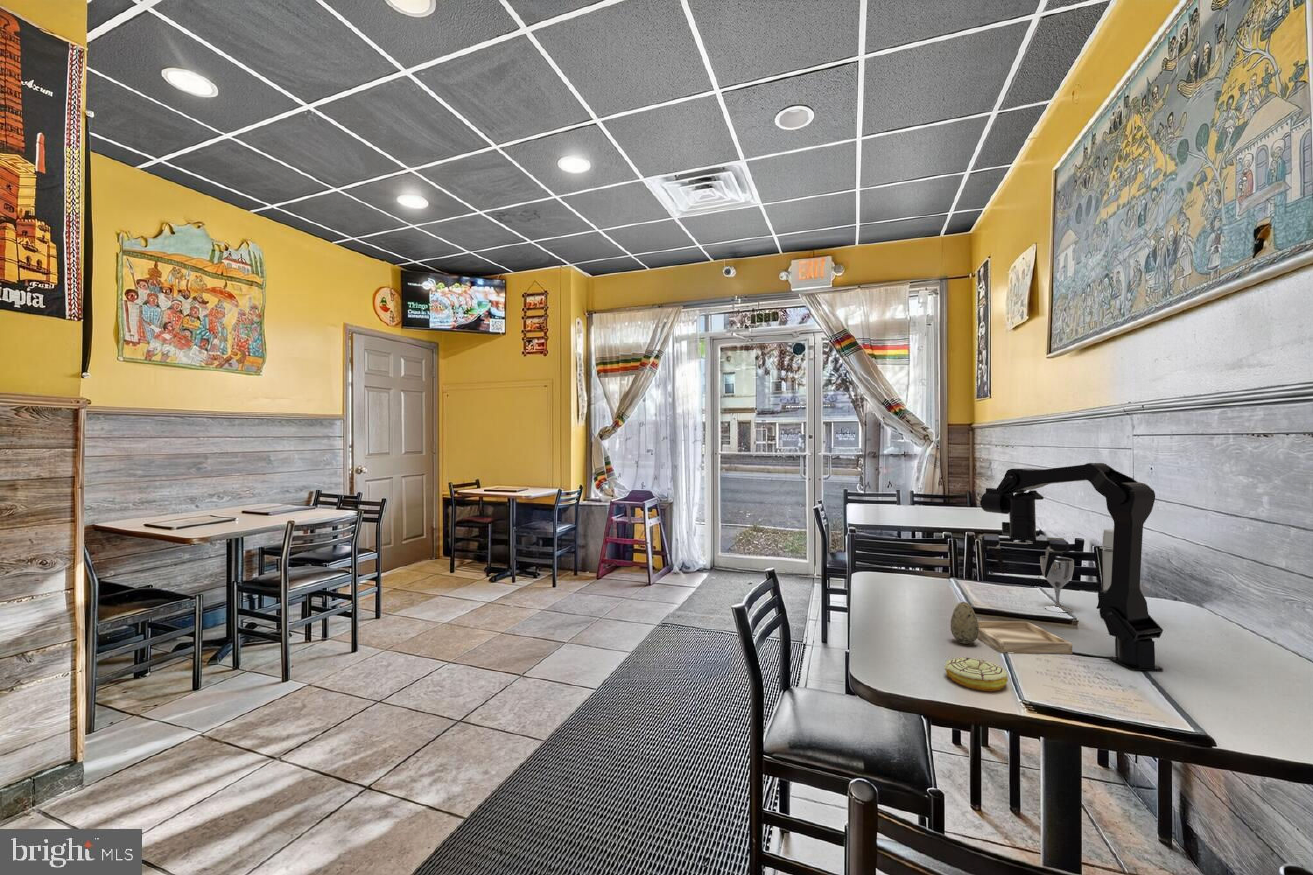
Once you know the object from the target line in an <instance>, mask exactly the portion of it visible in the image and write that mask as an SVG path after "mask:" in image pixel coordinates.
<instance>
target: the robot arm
mask: <svg viewBox="0 0 1313 875" xmlns="http://www.w3.org/2000/svg"><path fill="white" fill-rule="evenodd" d="M1083 481H1088V482H1089V483H1090V484H1091V485H1092V487H1093V488H1094V490H1095V491H1096V492H1097V493H1099V494H1100V495H1102V496H1103V497H1104V498H1105V503H1106V509H1107V511H1108V513H1109V514H1110V516H1111V519H1112V521H1113V529H1114V535H1113V554H1112V573H1111V585H1110V587H1109V588H1108V590H1098V593H1097V600H1098V603H1097V606H1096V607H1095V608H1096V610H1097V609H1098V610H1099V616H1100V618H1101V619H1102V620H1103V621H1104V624H1105V626H1106V630H1107V631H1108V634H1109V635H1110V636H1111V637H1115V638H1114V641H1115V643H1114V648H1115V650H1114V651H1115V654H1114V655H1115V656H1108V659H1109V660H1111V661H1112V662H1115V663H1116V664H1118V665H1120V666H1123V667H1125V668H1126V669H1129V668H1130V669H1129V670H1131V669H1133V670H1132V671H1146V672H1147V671H1151V672H1153V671H1155V672H1157V671H1158V672H1160V671H1161V672H1162V671H1164V668H1162V667H1160V666H1158V665H1157V664H1156V656H1155V655H1156V652H1155V651H1156V648H1155V645H1156V644H1155V640H1153V639H1160V638H1161V636H1162V634H1163V631H1164V629H1163V628H1162V627H1161V626H1160V625H1159V624H1158V623H1157V622H1156V621H1155V620H1154V618H1153V617H1152V616H1151V615H1150V614H1149V608H1148V604H1147V603H1148V601H1147V600H1146V598H1145V596H1144V594H1143V592H1142V590H1141V574H1142V573H1141V572H1142V570H1141V568H1142V553H1143V552H1142V551H1143V550H1142V549H1143V536H1144V535H1143V534H1144V524H1145V522H1146V521H1147V520H1148V518H1149V516H1150V514H1151V513H1152V511H1153V509H1154V504H1155V500H1156V493H1155V490H1154V489H1153V488H1151V487H1150V486H1149V485H1148V484H1146V483H1143V482H1138V481H1137V480H1135V479H1134V478H1132V477H1130V476H1128V475H1126V474H1124V473H1122V472H1120V471H1117V470H1115V469H1114V468H1113V467H1112V466H1110V465H1108V464H1107V463H1103V462H1088V463H1084V464H1079V465H1070V466H1063V467H1061V466H1060V467H1054V468H1046V469H1045V468H1044V469H1042V468H1032V467H1031V468H1009V469H1007V470H1006V472H1005V474H1004V476H1003V479H1001V481H1000V482H999V485H998V486H997V487H996V488H995V487H987V488H986V487H985V492H984V493H983V494H982V496H981V498H980V500H979V504H980V507H981V510H983V511H984V512H986V513H993V514H1002V515H1003V514H1004V515H1007V514H1009V516H1008V517H1009V522H1006V521H1002V522H1001V534H1002V535H1004V536H1005V535H1008V537H1000V536H999V534H998V533H997V534H996V533H983V534H982V535H981V536H980V537H981V539H980V540H981V546H982V547H987V548H986V549H987V550H989V551H992V553H993V554H994V556H995V558H996V560H997V563H998V565H999V568H1000V570H1001V573H1002V575H1004V574H1005V567H1004V561H1003V560H1004V559H1003V555H1002V549H1001V546H1000V545H1003V546H1004V545H1005V546H1019V547H1036V548H1037V547H1038V548H1045V556H1046V557H1045V566H1044V576H1043V577H1044V579H1046V578H1047V576H1048V573H1049V571H1050V568H1051V566H1052V564H1053V562H1054V561H1055V559H1056V558H1057V556H1063V553H1070V544H1069V542H1068V541H1067V540H1066V539H1065V538H1064V537H1049V536H1047V537H1046V540H1045V539H1037V522H1036V517H1037V516H1036V501H1038V500H1040V501H1041V500H1044V499H1045V497H1044V496H1042V494H1040V493H1039V492H1038V491H1037V489H1039V488H1043V487H1045V486H1048V485H1051V484H1060V483H1072V482H1083ZM1027 491H1028V492H1027Z"/></svg>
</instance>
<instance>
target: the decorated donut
mask: <svg viewBox="0 0 1313 875" xmlns="http://www.w3.org/2000/svg"><path fill="white" fill-rule="evenodd" d="M944 671H946V675H947V677H948V678H949V679H951V680H952V681H953V682H954V683H957V684H958V685H960V686H963V687H966V688H968V689H972V690H976V691H982V692H997V691H1000V690H1001V689H1003V688H1004V687H1006V685H1007V683H1008V681H1009V679H1008V672H1007V671H1006V669H1004V668H1003V667H1002V666H1000V665H998V664H996V663H993V662H990V661H987V660H984V659H979V658H973V657H955V658H952V659H948V660H947V661H946V662H945V666H944ZM1001 691H1002V690H1001Z"/></svg>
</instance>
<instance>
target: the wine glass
mask: <svg viewBox="0 0 1313 875" xmlns="http://www.w3.org/2000/svg"><path fill="white" fill-rule="evenodd" d="M1045 557H1046V555H1040V557H1039V560H1040V561H1039V562H1040V569H1041V573H1042V576H1043V577H1044V566H1045ZM1074 570H1075V560H1074V559H1073V558H1069V557H1065V556H1060V555H1058V556H1057V558H1056V559H1055V561H1054V562H1053V564H1052V566H1051V568H1050V571H1049V573H1048V576H1047V578H1045V580H1046V581H1047V582H1048V583H1049V584H1050V585H1051V586H1052V587H1053V588H1052V589H1053V590H1054V593H1055V594H1054V595H1055V604H1054V605H1053V606H1055V607H1059V608H1061V609H1062V610H1063V611H1067V612H1068V613H1067V614H1072V613H1073V612H1074V611H1073V610H1072V609H1071V608H1067V607H1064V606H1061V604H1060V594H1061V590H1062V588H1063V587H1064V586H1066V585H1067V584H1068V583H1069V582H1070V581H1071V580H1072V578H1073V574H1074Z"/></svg>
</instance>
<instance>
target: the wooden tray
mask: <svg viewBox="0 0 1313 875" xmlns="http://www.w3.org/2000/svg"><path fill="white" fill-rule="evenodd" d="M977 621H978V626H979V634H978V637H977V639H978V640H980V641H981V642H983V643H984V644H985V645H987V646H989V647H991V648H992V649H994V650H995V651H997V652H998V653H1000V654H1006V653H1005V652H1014V653H1013V654H1032V653H1061V654H1060V655H1073V643H1072V642H1069V641H1068V640H1065V639H1063V637H1062V638H1061V637H1059V636H1057V635H1055V634H1053V633H1051V632H1049V631H1047V630H1045V629H1043V628H1042V627H1039V626H1037V625H1036V624H1033V623H1031V622H1029V621H1016V620H1015V621H1012V620H1011V621H1010V620H1009V621H1008V620H1005V621H1003V620H977Z"/></svg>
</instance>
